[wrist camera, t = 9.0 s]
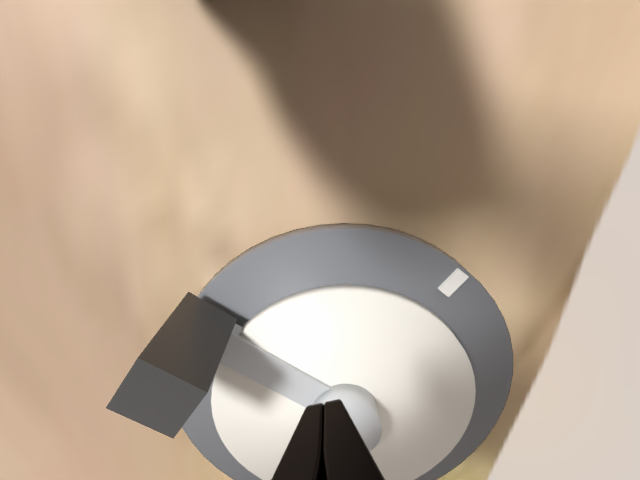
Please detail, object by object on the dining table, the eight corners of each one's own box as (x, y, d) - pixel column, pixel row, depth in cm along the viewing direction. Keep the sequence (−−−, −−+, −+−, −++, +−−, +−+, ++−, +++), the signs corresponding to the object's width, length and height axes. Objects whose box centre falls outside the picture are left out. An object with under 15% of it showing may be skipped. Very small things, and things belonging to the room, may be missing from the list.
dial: (521, 370, 20) (598, 459, 14) (363, 511, 24) (378, 621, 19) (253, 191, 16) (223, 223, 10) (120, 398, 20) (48, 498, 14)
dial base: (308, 143, 17) (308, 144, 15) (567, 348, 22) (587, 366, 20) (121, 401, 22) (105, 423, 21) (359, 520, 27) (362, 544, 25)
